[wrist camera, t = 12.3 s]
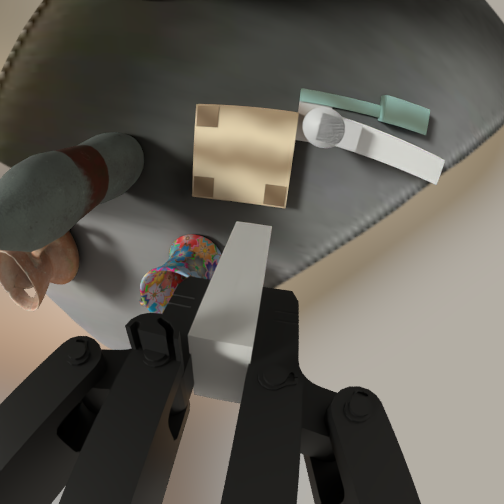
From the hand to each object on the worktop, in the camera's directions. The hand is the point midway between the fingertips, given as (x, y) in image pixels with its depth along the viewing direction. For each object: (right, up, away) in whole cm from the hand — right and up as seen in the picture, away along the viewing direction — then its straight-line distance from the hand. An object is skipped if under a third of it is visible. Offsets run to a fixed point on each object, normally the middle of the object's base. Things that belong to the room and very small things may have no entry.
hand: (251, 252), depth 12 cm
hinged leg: (+14, +14, +18) cm, 27 cm away
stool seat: (+7, +13, +20) cm, 25 cm away
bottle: (-19, +13, +24) cm, 33 cm away
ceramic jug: (-37, +2, +33) cm, 50 cm away
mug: (-9, -1, +30) cm, 32 cm away
